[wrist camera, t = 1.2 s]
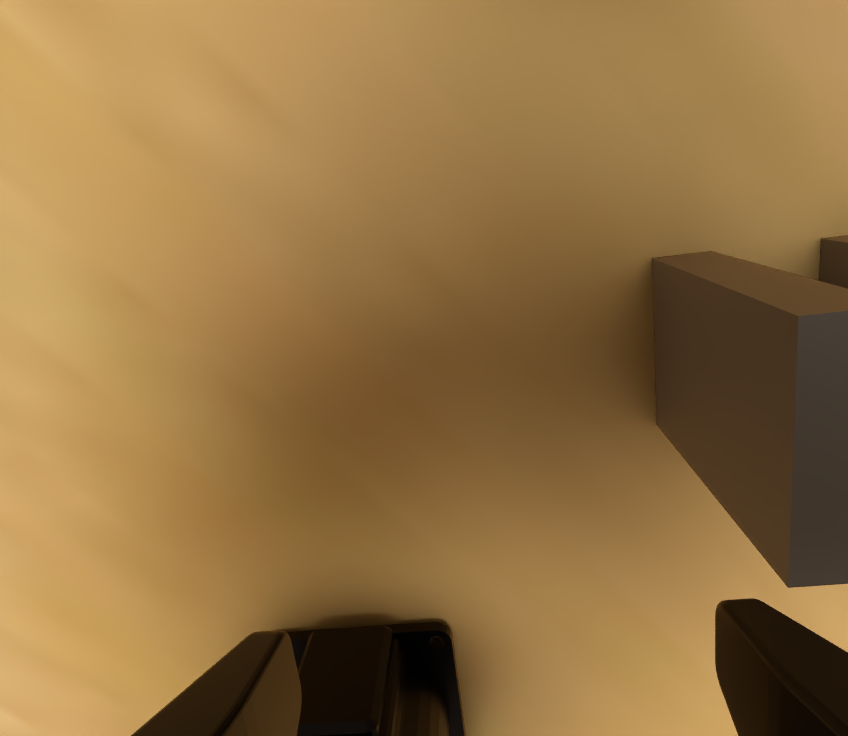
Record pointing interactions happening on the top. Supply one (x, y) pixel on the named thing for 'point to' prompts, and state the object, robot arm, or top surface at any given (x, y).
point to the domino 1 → (760, 402)
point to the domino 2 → (834, 261)
